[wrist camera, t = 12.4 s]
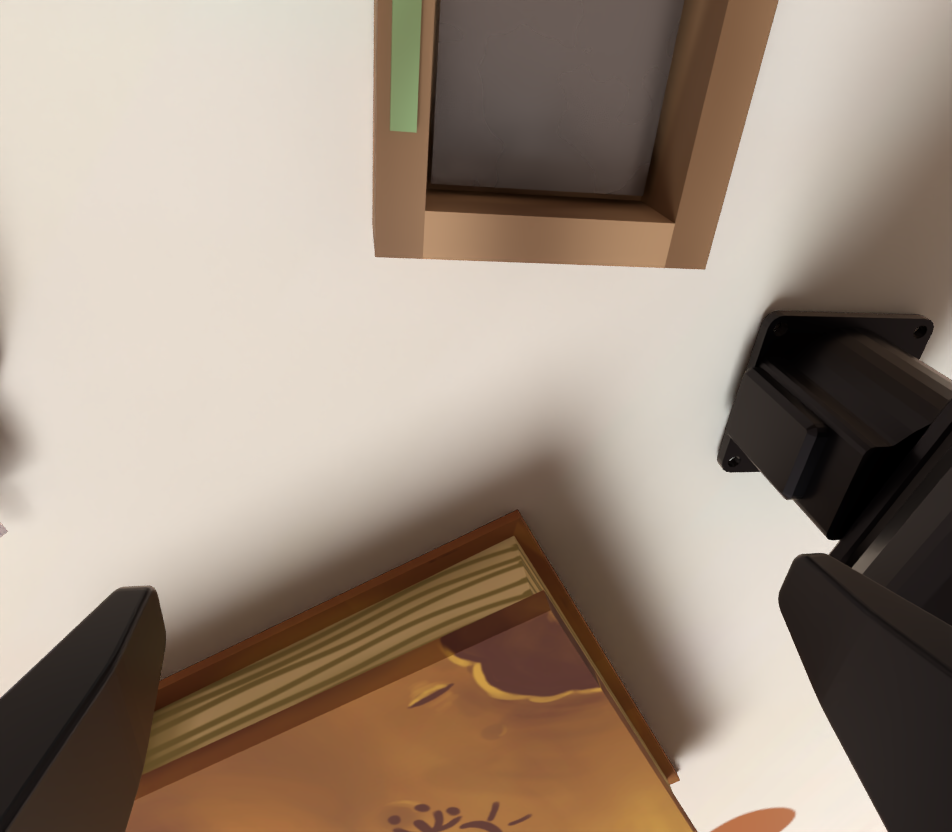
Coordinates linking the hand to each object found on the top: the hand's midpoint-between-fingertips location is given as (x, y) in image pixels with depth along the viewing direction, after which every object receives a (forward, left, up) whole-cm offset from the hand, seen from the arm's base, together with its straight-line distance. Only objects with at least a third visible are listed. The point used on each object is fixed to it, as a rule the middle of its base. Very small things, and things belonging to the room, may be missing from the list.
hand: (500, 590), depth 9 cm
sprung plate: (-3, -6, -13) cm, 15 cm away
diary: (-2, +24, -14) cm, 28 cm away
